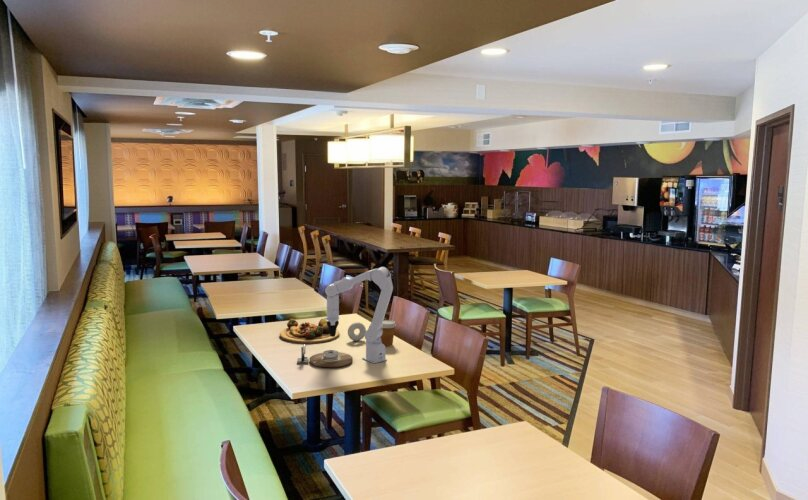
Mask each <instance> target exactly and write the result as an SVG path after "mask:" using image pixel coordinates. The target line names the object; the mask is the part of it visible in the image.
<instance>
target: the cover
mask: <svg viewBox="0 0 808 500" xmlns="http://www.w3.org/2000/svg"><path fill="white" fill-rule="evenodd" d="M338 352H339V351H338V350H336V349H335V350H334V349H327V350H324V351H323V352H322V353H323V359H324V360H326V361H334V360H337V359H338Z"/></svg>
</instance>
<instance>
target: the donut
mask: <svg viewBox="0 0 808 500" xmlns="http://www.w3.org/2000/svg"><path fill="white" fill-rule="evenodd" d="M356 330H359V332H358V333H357V334H356V333H355V331H356ZM366 331H367V330H366V326H365V325H364V324H363V323H361V322H360V321H359V322H358V321H357V322H356V321H355V322H353V323H351V324H350V325H349V326H348V329H347V336H348V338H349V339H350V340H352V341H353V342H359V341H361V340H363V339H364V338H365V332H366Z"/></svg>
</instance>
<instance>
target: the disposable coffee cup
mask: <svg viewBox="0 0 808 500" xmlns="http://www.w3.org/2000/svg"><path fill="white" fill-rule="evenodd" d="M396 326H397V324H396V321H395V320H392V319H384V320H383V327H382V330H383V334H382V336H381V337H380V338H381V342H382V344H384V345H385V347H392V346H393V343H394V335H395V329H396Z"/></svg>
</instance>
